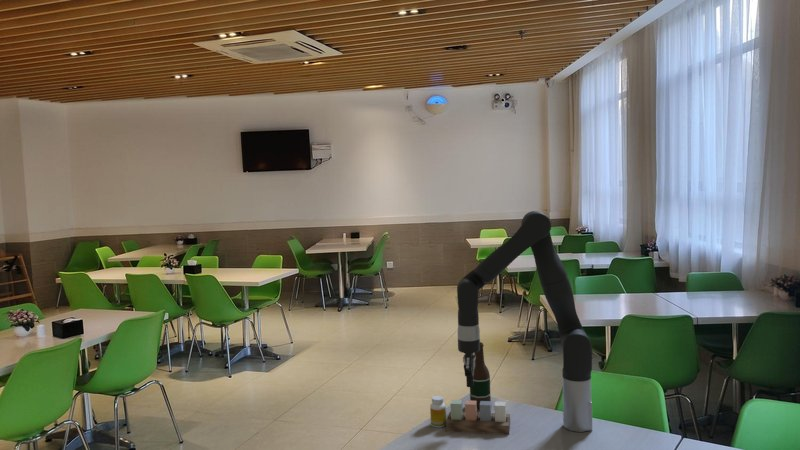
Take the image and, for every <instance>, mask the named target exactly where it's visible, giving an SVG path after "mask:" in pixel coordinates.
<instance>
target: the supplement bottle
mask: <svg viewBox="0 0 800 450" xmlns="http://www.w3.org/2000/svg"><path fill="white" fill-rule="evenodd" d="M446 406H447V405H446V403H444V397H443V396H441V395H433V396H432V397H431V404H430V405H429V407H430V426H432V427H433V428H439V429H440V428H443V427H444V428H445V426H446V422H447V408H446Z"/></svg>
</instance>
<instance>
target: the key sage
mask: <svg viewBox="0 0 800 450" xmlns="http://www.w3.org/2000/svg"><path fill="white" fill-rule="evenodd" d="M450 411H451V420H462V417H463V412H464V411H463V400H461V399H451V402H450Z"/></svg>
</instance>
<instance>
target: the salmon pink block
mask: <svg viewBox="0 0 800 450" xmlns="http://www.w3.org/2000/svg"><path fill="white" fill-rule="evenodd" d="M464 412H465V420H469V421H476V420H477V413H478V409H477V401H470V399H469V400H468V399H467V400H465V403H464Z"/></svg>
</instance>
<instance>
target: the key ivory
mask: <svg viewBox="0 0 800 450" xmlns="http://www.w3.org/2000/svg"><path fill="white" fill-rule="evenodd" d="M494 413H495V422H506V414H507V402H506V401H494Z"/></svg>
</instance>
